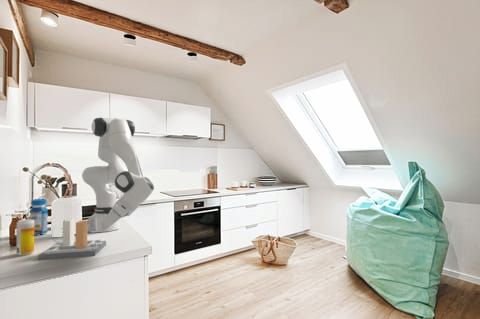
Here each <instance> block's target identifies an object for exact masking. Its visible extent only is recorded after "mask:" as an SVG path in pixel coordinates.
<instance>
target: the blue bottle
mask: <svg viewBox="0 0 480 319" xmlns="http://www.w3.org/2000/svg"><path fill="white" fill-rule="evenodd" d="M46 205H47V199H46V198H35V199H32V200H31V206H32V207H31V208H30V210H29V218H28V219H33V220H34V235H39V236H41V235H40V234H44V235H46V234H48V217H49V214H48V210H49V209H48V208H47V206H46ZM45 233H46V234H45Z"/></svg>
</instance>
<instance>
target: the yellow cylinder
mask: <svg viewBox="0 0 480 319" xmlns="http://www.w3.org/2000/svg"><path fill="white" fill-rule="evenodd" d="M34 252H35V236H34V220H33V219H30V218H28V219H27V218H26V219H20V220H18V221H17V222H16V255H17V256H18V255H19V257H23V256H24V257H25V256H30V255H31V254H33V253H34Z"/></svg>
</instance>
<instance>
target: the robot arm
mask: <svg viewBox="0 0 480 319" xmlns="http://www.w3.org/2000/svg"><path fill="white" fill-rule="evenodd" d="M91 131H92V134H94V136H96V137H99V139H98V149H97V150H98V151H97V156H98V158H99V159H100V160H101V161H103V162H104V163H107V165H102V166H101V165H99V166H98V165H93V166H89V167H86V168H84V169H83V171H82V174H81V177H82V181H83V182H84V183H85V184H87V185H89V186H90V187H91V188H92V190H93V191H94V194H95V202H96V206H95V207H94V208H93V210H94V212H93V214H92V215H90V217H89V218H87V233H91V234H93V233H104V232H105V233H106V232H107V233H108V232H111V231H116V230H118V229H120V227H121V224H120V219H122V218H125V217H130V216H131V215H132V214H133V213H134V212H135V211H136V210H137V209H138V208H139V206H140V205H141V204H143V203H144V202H146V200H147V199H148V198H149V196H151V195H152V193H153V192H154V190H155V186H154V184H153V182H152V181H151V180H150V179H149V178H148V177H146V176H144V175H143V173H142V172H143V171H142V169H141V166H140V162H139V159H138V156H137V155H138V154H137V152H136V149H135V145H134V141H133V136H134V135H135V132H136V126H135V123H134V122H133V121H132V120H130V119H123V118H117V117H114V118H113V117H95V118H94V119H93V121H92V123H91ZM120 159H121V160H120ZM121 161H122V162H123V163H124V164H125V166H124V165H123V163H122V162H121ZM108 184H110V185H111V184H114V186H115V188H116V189H117V190H119V191H120V192H122V193H123V195H122V196H121V197H120V198H119V199H118V200H117V193H116V192H115V191H114V190H112V189H110V188H108V187H107V186H106V185H108Z"/></svg>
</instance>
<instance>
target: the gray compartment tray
mask: <svg viewBox="0 0 480 319" xmlns="http://www.w3.org/2000/svg"><path fill="white" fill-rule="evenodd" d="M106 246H107V240H102V239H87V246H86V247H85V248H81V249H76V240H75V218H72V219H67V220H64V221H63V228H62V241H59V243H55V244H54V245H53V246H51V247H49V248H47V249H45V250H44V251H42V252H40V253H38V255H37V259H38V260H50V259H51V260H53V259H65V258H81V257H82V258H83V257H93V256H94V257H95V256H96V255H97V254H98V253H100V252H101V251H102V250H103V249H104V248H105V247H106Z"/></svg>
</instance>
